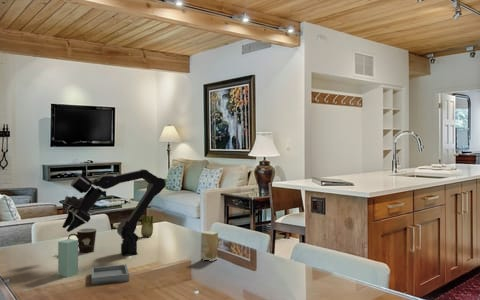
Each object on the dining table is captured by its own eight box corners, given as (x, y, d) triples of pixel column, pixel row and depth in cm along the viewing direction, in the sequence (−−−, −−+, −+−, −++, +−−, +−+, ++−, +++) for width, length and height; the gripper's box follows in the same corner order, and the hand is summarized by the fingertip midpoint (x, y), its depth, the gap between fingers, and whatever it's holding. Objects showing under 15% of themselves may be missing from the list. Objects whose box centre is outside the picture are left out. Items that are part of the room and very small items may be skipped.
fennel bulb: (153, 236, 222) (153, 214, 221) (149, 238, 217) (149, 216, 217) (144, 235, 223) (144, 214, 223) (139, 237, 218) (139, 215, 218)
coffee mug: (99, 249, 193) (99, 228, 193) (91, 254, 184) (91, 232, 184) (76, 248, 194) (76, 227, 194) (66, 253, 185) (67, 231, 185)
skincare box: (200, 260, 176) (200, 232, 176) (205, 257, 180) (205, 230, 180) (212, 262, 173) (213, 234, 173) (218, 259, 177) (218, 232, 177)
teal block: (69, 271, 159) (69, 238, 159) (77, 273, 157) (78, 240, 157) (58, 275, 154) (58, 241, 154) (67, 277, 152) (67, 243, 152)
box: (126, 270, 161) (126, 264, 161) (129, 280, 148) (129, 274, 148) (91, 273, 156) (91, 267, 156) (91, 284, 144) (91, 278, 144)
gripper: (70, 186, 180) (45, 215, 175) (79, 190, 164) (52, 222, 159) (90, 201, 185) (66, 229, 179) (100, 206, 169) (75, 237, 164)
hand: (65, 229), depth 170 cm, fingers open, 9 cm apart
